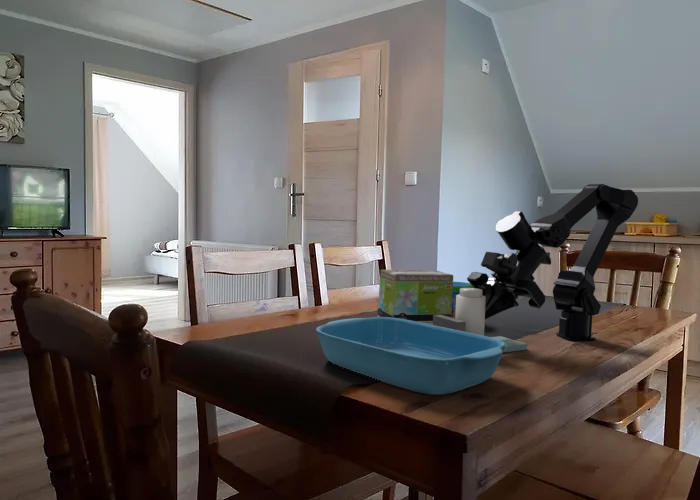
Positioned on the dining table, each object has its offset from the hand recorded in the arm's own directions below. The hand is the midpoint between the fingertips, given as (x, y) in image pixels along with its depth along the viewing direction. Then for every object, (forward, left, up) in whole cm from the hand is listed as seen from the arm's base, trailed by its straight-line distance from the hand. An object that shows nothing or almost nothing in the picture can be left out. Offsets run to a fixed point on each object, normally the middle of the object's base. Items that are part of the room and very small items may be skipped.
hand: (481, 317), depth 118 cm
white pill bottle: (+3, +1, -5) cm, 6 cm away
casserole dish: (+21, +13, -7) cm, 26 cm away
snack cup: (-6, -30, -7) cm, 31 cm away
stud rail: (0, 0, -7) cm, 7 cm away
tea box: (+9, -18, -7) cm, 21 cm away
